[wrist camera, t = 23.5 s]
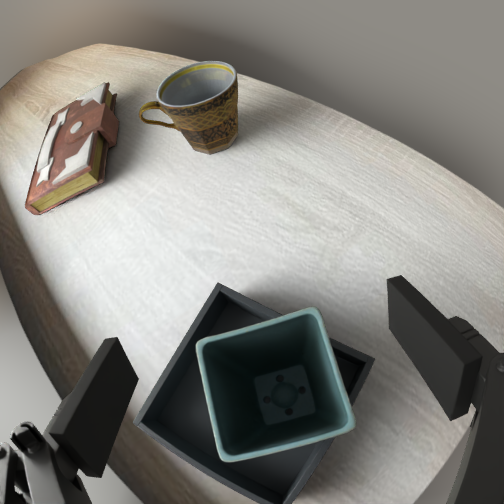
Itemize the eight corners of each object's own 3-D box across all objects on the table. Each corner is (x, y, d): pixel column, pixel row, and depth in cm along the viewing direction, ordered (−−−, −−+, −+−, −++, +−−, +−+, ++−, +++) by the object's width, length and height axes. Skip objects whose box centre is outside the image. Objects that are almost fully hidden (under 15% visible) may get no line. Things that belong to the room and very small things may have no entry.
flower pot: (226, 362, 29) (192, 339, 21) (317, 335, 29) (318, 303, 21) (248, 451, 25) (220, 464, 17) (345, 424, 24) (358, 428, 16)
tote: (365, 364, 28) (375, 358, 24) (286, 500, 23) (283, 515, 19) (228, 296, 33) (217, 282, 29) (152, 421, 28) (132, 422, 24)
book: (61, 128, 54) (48, 113, 50) (123, 94, 52) (111, 76, 48) (39, 219, 44) (19, 203, 39) (112, 182, 42) (92, 162, 37)
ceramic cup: (238, 107, 45) (225, 53, 36) (259, 148, 41) (247, 88, 32) (157, 136, 45) (132, 86, 36) (165, 182, 41) (135, 129, 32)
